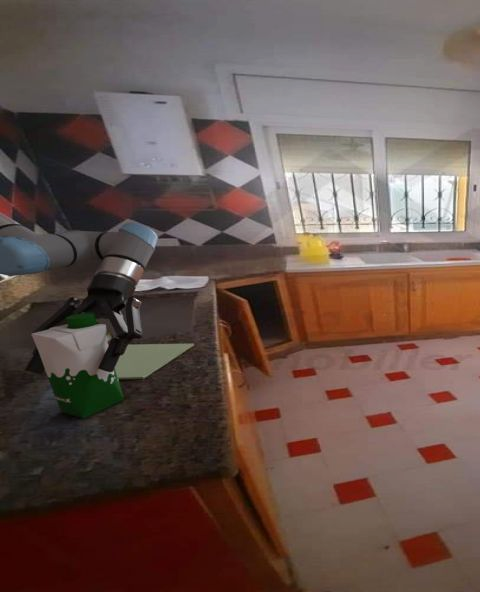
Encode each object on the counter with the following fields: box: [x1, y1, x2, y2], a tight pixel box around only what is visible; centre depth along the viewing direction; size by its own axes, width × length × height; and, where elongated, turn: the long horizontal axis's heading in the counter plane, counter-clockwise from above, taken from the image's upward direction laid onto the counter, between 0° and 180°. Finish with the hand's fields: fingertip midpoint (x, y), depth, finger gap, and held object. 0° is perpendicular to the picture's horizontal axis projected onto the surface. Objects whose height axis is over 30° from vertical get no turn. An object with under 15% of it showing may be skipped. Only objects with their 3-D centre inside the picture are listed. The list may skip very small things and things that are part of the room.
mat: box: [115, 343, 195, 380], centre depth 88 cm, size 20×20×1 cm
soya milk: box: [30, 312, 125, 420], centre depth 65 cm, size 9×9×20 cm
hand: (69, 371), depth 63 cm, fingers open, 13 cm apart
